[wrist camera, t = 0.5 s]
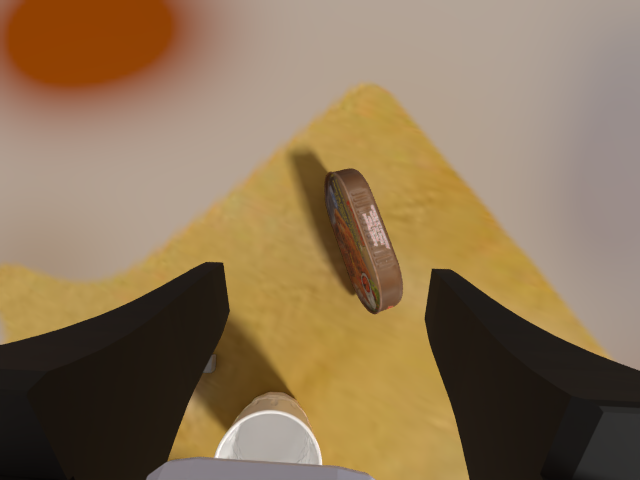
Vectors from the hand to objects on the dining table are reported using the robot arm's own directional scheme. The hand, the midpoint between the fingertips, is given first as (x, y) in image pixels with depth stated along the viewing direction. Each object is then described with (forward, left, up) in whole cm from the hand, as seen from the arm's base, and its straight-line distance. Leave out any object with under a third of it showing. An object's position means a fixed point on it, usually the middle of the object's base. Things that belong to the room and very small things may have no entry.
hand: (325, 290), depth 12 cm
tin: (+7, -6, -26) cm, 28 cm away
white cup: (-12, +3, -26) cm, 29 cm away
